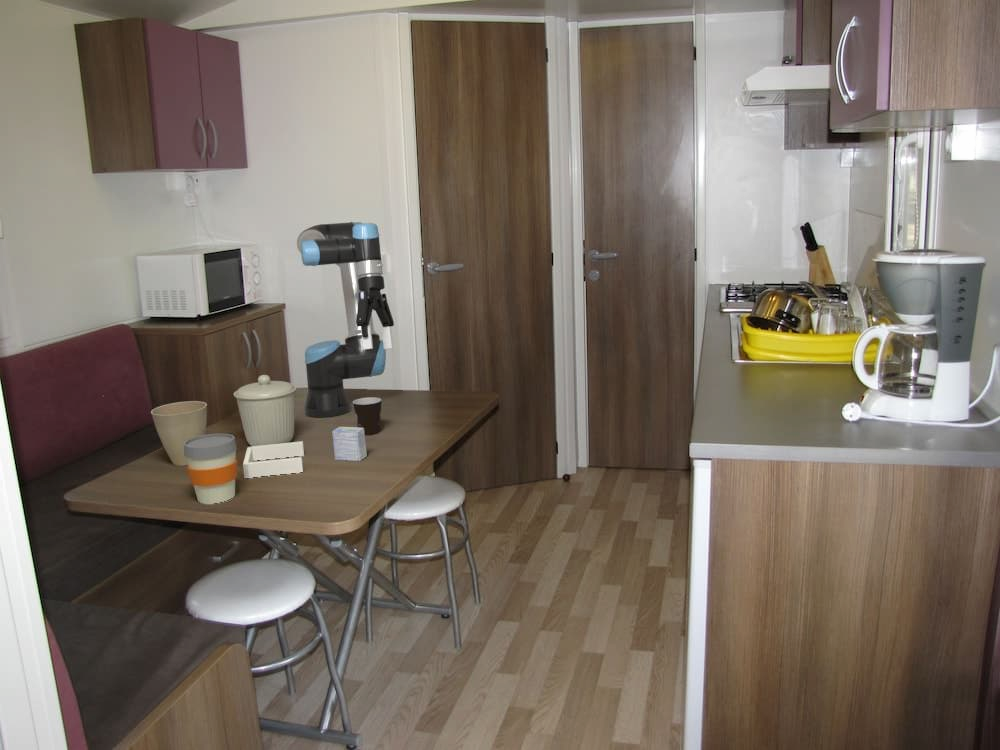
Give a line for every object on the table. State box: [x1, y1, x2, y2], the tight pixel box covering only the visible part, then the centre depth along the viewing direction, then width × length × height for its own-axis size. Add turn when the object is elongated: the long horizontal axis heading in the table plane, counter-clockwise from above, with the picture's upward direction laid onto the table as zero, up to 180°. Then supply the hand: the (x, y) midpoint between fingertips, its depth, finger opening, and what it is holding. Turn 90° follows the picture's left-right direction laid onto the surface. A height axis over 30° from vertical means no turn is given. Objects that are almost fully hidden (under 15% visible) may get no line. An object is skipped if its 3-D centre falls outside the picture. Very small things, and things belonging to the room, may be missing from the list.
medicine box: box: [331, 426, 368, 462], centre depth 253 cm, size 8×4×9 cm, turn 71°
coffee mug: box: [352, 396, 382, 436], centre depth 279 cm, size 12×9×10 cm
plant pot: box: [150, 400, 208, 467], centre depth 256 cm, size 15×15×16 cm
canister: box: [233, 374, 297, 447], centre depth 269 cm, size 18×18×21 cm
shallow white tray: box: [242, 440, 305, 479], centre depth 250 cm, size 16×15×4 cm
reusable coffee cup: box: [184, 432, 238, 505], centre depth 226 cm, size 13×13×15 cm
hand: (378, 348), depth 266 cm, fingers open, 13 cm apart
